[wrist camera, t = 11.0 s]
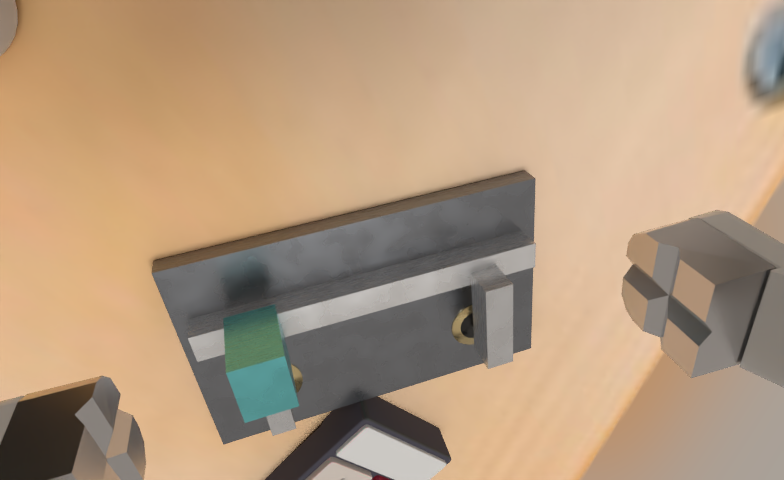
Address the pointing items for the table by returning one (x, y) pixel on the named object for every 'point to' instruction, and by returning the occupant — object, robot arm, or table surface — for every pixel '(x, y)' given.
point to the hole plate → (366, 335)
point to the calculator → (368, 446)
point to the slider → (260, 368)
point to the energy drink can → (7, 23)
